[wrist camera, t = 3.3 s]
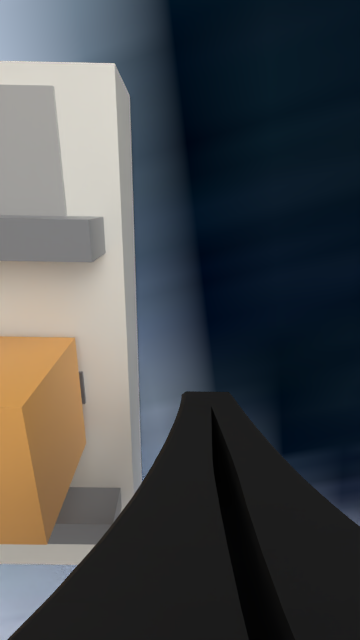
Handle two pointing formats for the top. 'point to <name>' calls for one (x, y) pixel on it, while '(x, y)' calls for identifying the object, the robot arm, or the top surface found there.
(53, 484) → the lever
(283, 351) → the top surface
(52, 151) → the panel
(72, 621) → the robot arm
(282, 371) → the top surface
